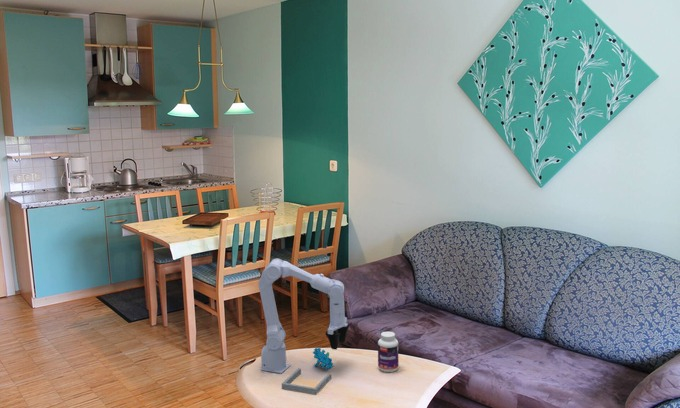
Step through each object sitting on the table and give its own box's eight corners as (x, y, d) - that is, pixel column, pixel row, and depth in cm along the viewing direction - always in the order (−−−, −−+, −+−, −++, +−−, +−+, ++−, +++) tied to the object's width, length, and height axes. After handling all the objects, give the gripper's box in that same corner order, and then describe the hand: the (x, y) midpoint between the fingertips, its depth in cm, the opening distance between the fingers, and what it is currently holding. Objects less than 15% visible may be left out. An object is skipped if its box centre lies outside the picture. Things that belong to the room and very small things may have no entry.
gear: (327, 370, 231) (311, 350, 234) (317, 379, 233) (301, 359, 235) (338, 362, 241) (323, 343, 244) (328, 371, 243) (313, 352, 246)
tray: (281, 388, 221) (281, 383, 220) (298, 372, 233) (298, 368, 233) (316, 394, 215) (315, 389, 215) (331, 378, 228) (331, 373, 228)
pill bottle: (377, 372, 231) (376, 337, 229) (378, 364, 239) (378, 330, 237) (398, 373, 230) (397, 338, 228) (399, 364, 238) (398, 330, 236)
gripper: (339, 319, 224) (340, 353, 226) (353, 307, 237) (354, 339, 239) (322, 317, 227) (323, 351, 229) (337, 305, 240) (338, 337, 242)
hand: (338, 345), depth 234 cm, fingers open, 7 cm apart
